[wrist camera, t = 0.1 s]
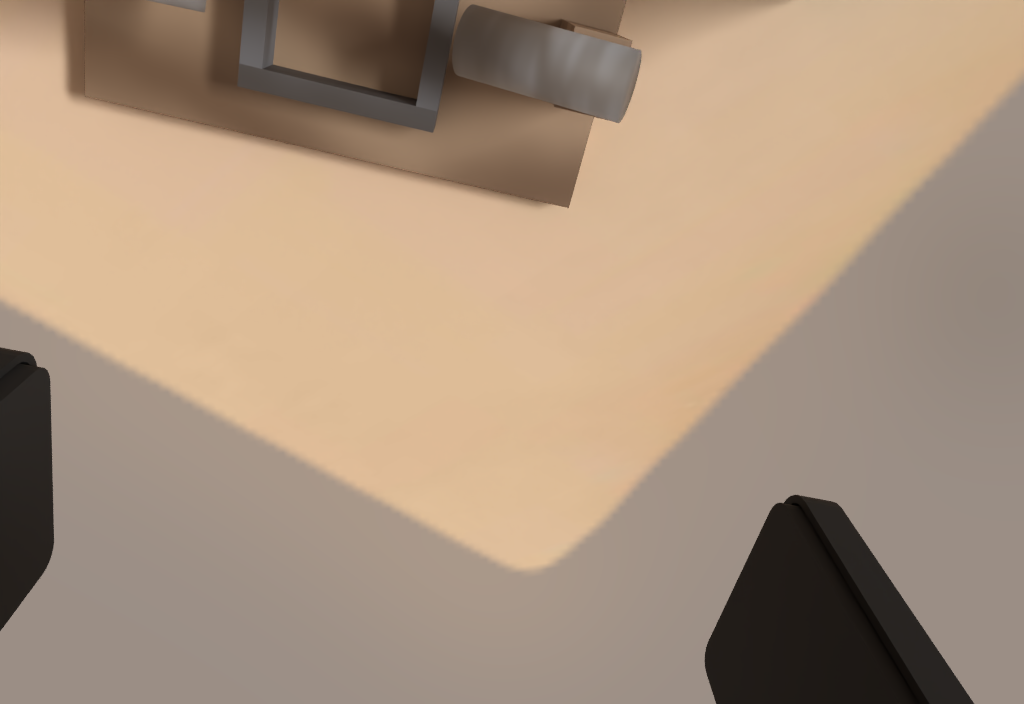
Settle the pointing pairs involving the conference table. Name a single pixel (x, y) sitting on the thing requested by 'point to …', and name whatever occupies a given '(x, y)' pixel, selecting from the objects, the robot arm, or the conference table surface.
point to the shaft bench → (381, 78)
